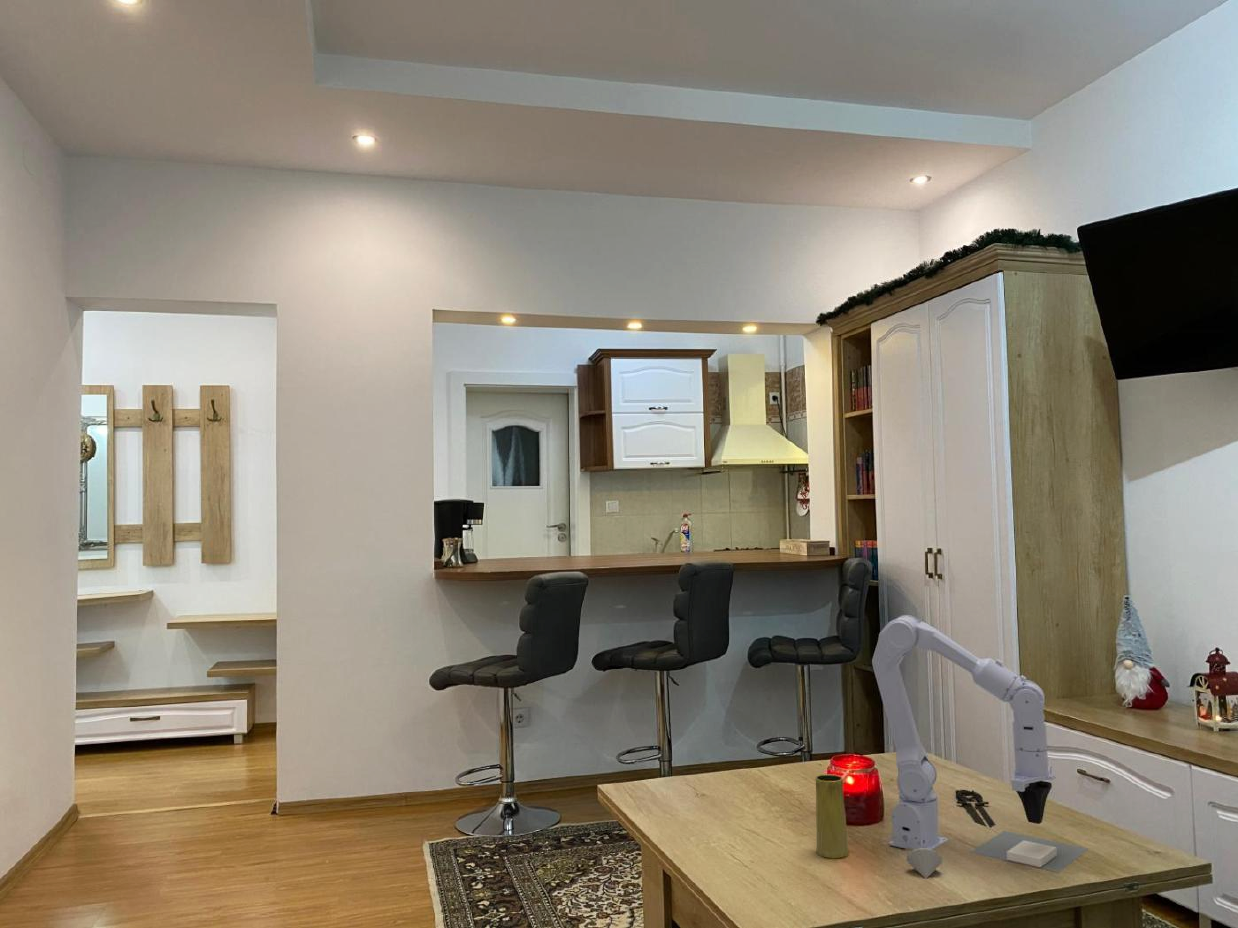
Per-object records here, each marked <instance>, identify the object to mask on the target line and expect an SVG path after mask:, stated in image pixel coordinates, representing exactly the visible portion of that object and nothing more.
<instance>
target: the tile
mask: <svg viewBox="0 0 1238 928" xmlns="http://www.w3.org/2000/svg"><path fill="white" fill-rule="evenodd" d="M1056 855H1057V847H1052V846H1048V845H1043V844H1038V843H1034V842H1029V841H1024V840H1023V841H1022V842H1020V843H1019V844H1017V845H1016V846H1014V847H1013V848H1011V849H1010V850H1009V851H1007V860H1009V861H1013V862H1017V863H1016V864H1018V863H1021V864H1020V865H1022V864H1026V865H1030V866H1029V867H1031V866H1034V867H1033V868H1035V867H1039V868H1041V867H1042V866H1043V865H1045V864H1046V863H1047V862H1049V861H1050V860H1051V859H1053V858H1054V857H1055V856H1056ZM1009 861H1008V862H1009ZM1013 862H1012V863H1013ZM1026 865H1025V866H1026ZM1039 868H1038V869H1039Z"/></svg>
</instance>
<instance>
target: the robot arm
mask: <svg viewBox="0 0 1238 928" xmlns="http://www.w3.org/2000/svg"><path fill="white" fill-rule="evenodd" d="M914 646H916V648H915V649H916V651H927V652H929V651H931V652H935V653H937V655H938V654H939V655H940V656H942V657H943V658H945V659H947V660H949V661H950V662H951V663H954V664H956V665H957V666H959V667H961V668H962V669H964V670H965V671H967V672H969V673H970V674H971V676H972V677H971V678H972V680H973V683H974V684H976V685H977V686H979V687H980V688H982V689H984V690H985V691H986V692H988V693H990V694H991V695H993V696H994V697H995V698H997V699H999V700H1000V701H1002V702H1004V703H1008V704H1009V706H1010V708H1011V710H1012V712H1013V714H1012V715H1013V721H1012V733H1013V734H1012V735H1013V737H1012V738H1013V749H1014V750H1013V751H1014V767H1015V769H1014V770H1013V772H1014V773H1013V778H1012V779H1011V790H1012V791H1016V793H1017V795H1018V797H1019V799H1020V801H1021V803H1022V805H1023V806H1022V807H1023V809H1024V812H1025V816H1026V819H1027V822H1028V823H1031V824H1036V825H1037V824H1038V825H1040V824H1041V823H1042V822H1043V820H1044V814H1045V809H1046V808H1045V807H1046V803H1047V800H1048V796H1049V794H1050V791H1051V790H1052V787H1053V783H1052V782H1049V781H1053V780H1056V774H1054V773H1053V769H1052V768H1053V767H1052V765H1051V764H1049V760H1048V758H1049V757H1048V740H1047V739H1048V738H1047V725H1046V723H1045V718H1046V717H1045V714H1044V709H1045V701H1046V700H1045V694H1044V691H1043V689H1042V688H1041V687H1040V686H1039V685H1038V684H1037V683H1036V682H1035V681H1033V680H1028V679H1027V677H1026V676H1025V675H1022V674H1021V675H1018V674H1016V672H1014V671H1012V670H1010V669H1009V668H1007V667H1005V666H1004V665H1003V664H1004V662H1003V661H1002V660H1000V659H999V658H997V659H995V660H994V659H993V658H991V657H987V658H979V657H978V656H976V655H974V654H973V653H971V652H970V651H969V650H967V649H966V648H964V647H963V646H962V645H960V644H959V643H957V642H956V641H955V640H953V639H951V638H949V637H948V636H947V635H946V634H944V633H943V632H941V631H940V630H938V629H936V628H935V627H933V626H931V625H930V624H928V623H927V622H924V621H920V620H919V619H918V618H917V617H915V616H912V615H911V614H910V615H909V614H904V615H903V614H902V615H900V616H898V617H896V618H895V619H892V620H891V621H888V623H887V624H886V625H885V626H884V627H883V628H882V630H881V631H880V632H879V634H878V639H877V644H876V646H875V650H874V653H873V656H872V659H871V664H872V668H873V672H874V676H875V679H876V682H877V686H878V690H879V694H880V697H881V701H882V704H883V707H884V711H885V715H886V718H887V721H888V725H889V729H890V733H891V736H892V739H893V744H894V747H895V750H896V754H895V755H896V758H895V759H896V760H895V762H896V767H897V778H896V786H897V788H898V790H899V792H898V803H897V804H896V805H895V806H894V807H893V809H892V812H891V827H892V828H891V829H892V840H890V841H888V845H889V846H894V847H897V848H901V849H905V850H911V851H913V850H916V849H920V848H927V849H930V850H933V851H934V849H936V848H938V847H939V846H941V845H943V844H944V843H946V842H949V839H948V838H946V837H941V836H940V826H939V806H938V794H937V793H936V791H935V789H934V788H933V785H934V784H935V783H936V782H937V776H938V773H937V769H936V767H935V765H934V764H933V762H932V761H931V760H930V759H929V757H928V755H927V751H926V749H925V747H924V746H923V744H922V743H921V739H920V736H919V732H918V728H917V725H916V722H915V719H914V715H913V711H912V708H911V705H910V702H909V701H910V700H909V697H908V693H907V690H906V687H905V683H904V680H903V676H902V671H901V669H900V664H901V663H902V661H903V660H904V658H905V657H906V655H907V652H909V651H910V650H911V649H912V648H914ZM1047 780H1048V781H1047Z"/></svg>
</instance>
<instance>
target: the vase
mask: <svg viewBox="0 0 1238 928" xmlns="http://www.w3.org/2000/svg"><path fill="white" fill-rule="evenodd" d="M844 801H845V799H844V778H843V777H842V776H841V775H837V774H834V773H833V774H831V773H826V774H825V773H822V774H818V775H816V776H815V806H816V809H815V813H816V815H815V817H816V819H815V822H816V850H815V851H816V854H817V855H819V856H820V857H823V858H826V859H842V858H846V857H848V856H849V853H850V852H849V848H848V832H847V820H846V819H847V817H846V809H845V802H844Z"/></svg>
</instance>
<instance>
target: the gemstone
mask: <svg viewBox="0 0 1238 928" xmlns="http://www.w3.org/2000/svg"><path fill="white" fill-rule="evenodd" d="M906 861H907V862H908V864H909V865H910V866H911V867H912V868H913V869H914V870H915V871H917V872H918V873H919V874H920V875H921V876H922V877H923V878H924V879H926V880H927V879H928V878H929V877H930V876H931V875H932V874H933V873H934V872H935V871H936V870H937V869H938V868H939V866H940V865H942V862H943V858H942V855H941V854H940V853H938V852H937V851H935V850H934V849H933V850H930V849H927V848H920V849H916V850H911V851H910V852H909V853H907V855H906Z"/></svg>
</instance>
